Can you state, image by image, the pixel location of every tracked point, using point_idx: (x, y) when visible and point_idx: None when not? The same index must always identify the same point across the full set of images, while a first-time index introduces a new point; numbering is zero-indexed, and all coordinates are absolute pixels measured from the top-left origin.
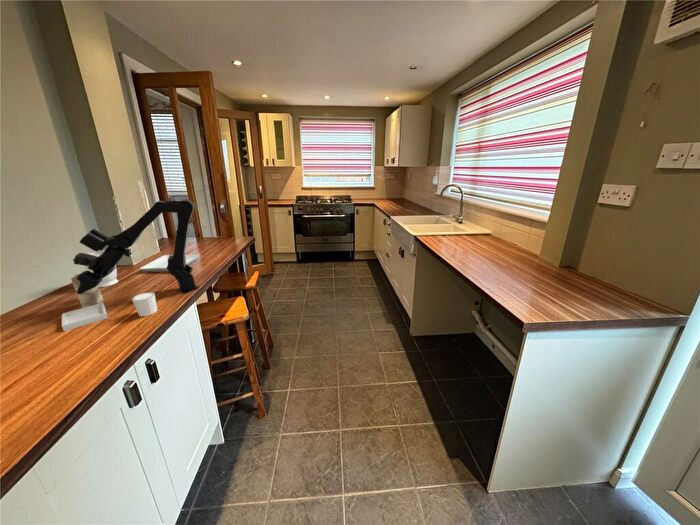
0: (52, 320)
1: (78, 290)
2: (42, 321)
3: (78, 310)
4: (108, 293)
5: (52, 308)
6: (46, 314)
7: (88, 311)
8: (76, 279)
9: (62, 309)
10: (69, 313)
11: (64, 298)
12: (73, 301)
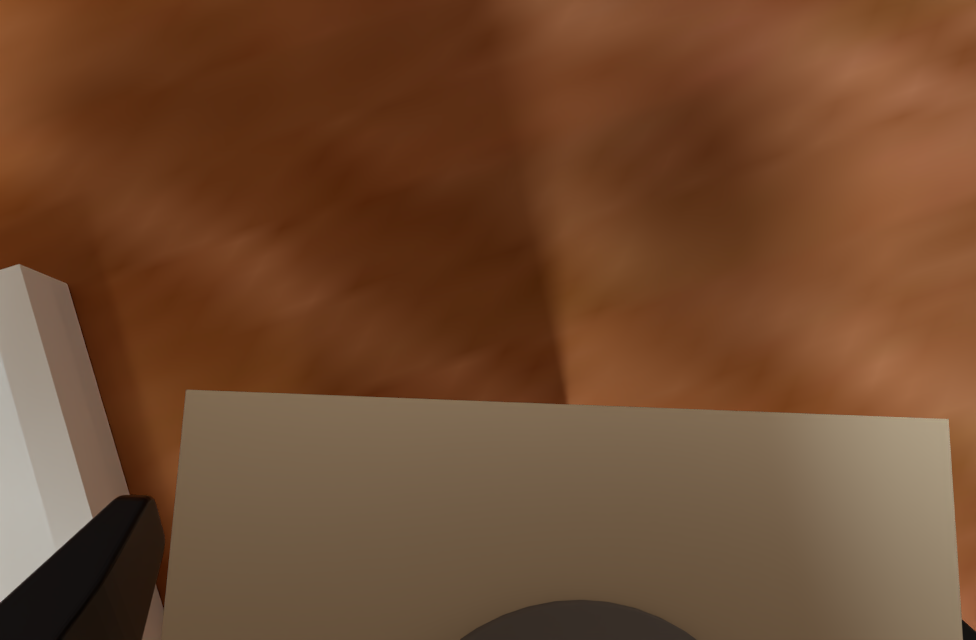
0: (86, 152)
1: (33, 591)
2: (126, 37)
3: (42, 482)
4: None
5: (569, 4)
6: (372, 3)
7: None
8: (183, 620)
9: (462, 145)
10: (11, 366)
11: (898, 32)
12: (723, 191)
